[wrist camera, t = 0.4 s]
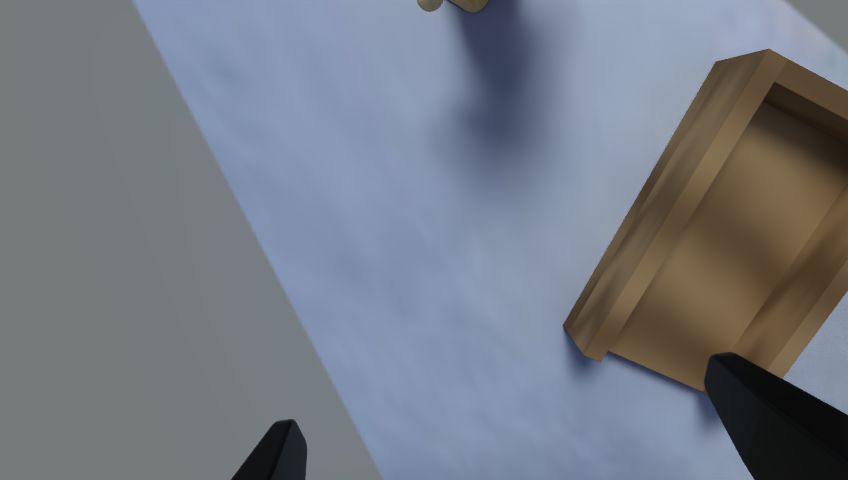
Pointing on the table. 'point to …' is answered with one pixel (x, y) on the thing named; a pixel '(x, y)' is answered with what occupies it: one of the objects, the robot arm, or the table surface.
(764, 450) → the robot arm
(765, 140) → the open-ended wooden tray
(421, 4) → the grandmother figurine
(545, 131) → the table surface
